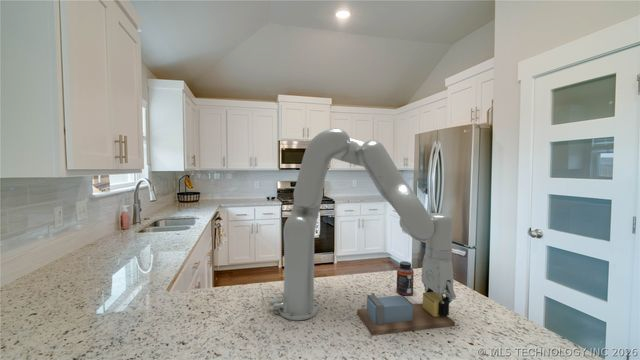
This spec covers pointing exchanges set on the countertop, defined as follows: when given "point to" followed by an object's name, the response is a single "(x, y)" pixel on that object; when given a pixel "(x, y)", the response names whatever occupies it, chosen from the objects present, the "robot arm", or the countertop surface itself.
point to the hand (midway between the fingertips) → (436, 309)
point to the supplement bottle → (405, 278)
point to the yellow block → (431, 302)
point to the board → (407, 322)
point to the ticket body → (389, 309)
